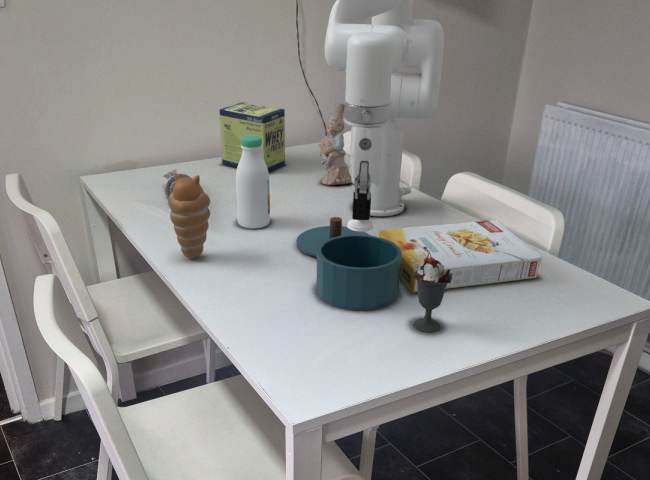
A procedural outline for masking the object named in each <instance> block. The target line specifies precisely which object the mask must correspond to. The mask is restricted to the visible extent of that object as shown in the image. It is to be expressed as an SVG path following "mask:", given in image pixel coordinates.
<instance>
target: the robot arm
mask: <svg viewBox="0 0 650 480" xmlns="http://www.w3.org/2000/svg"><path fill="white" fill-rule="evenodd" d="M413 2H414V1H413V0H335V2H334V4H333V5H332V8H331V11H330V13H329V18H328V24H327V28H326V34H325V39H324V58H325V61H326V64H327V66H328V67H330V69H332V70H334V71H336V72H345V94H344V95H345V96H344V97H345V98H344V105H345V109H344V118H343V122H344V124H346V125H348V126H351V127H350V173H351V174H350V176H351V177H352V182H351V183H352V184H353V185H354V191H353V194H352V195H353V196H352V215H351V216H352V217H351V219H354V220H371V216H373V217H391V216H395V215H398V214H401V213H402V212H403V211H404V209H405V202H404V201H402V197H403V196H405V195H409V194H411V193H412V188H411V186H409V185H405V186H402V187H400V185H401V171H402V162H403V161H402V160H403V151H404V149H403V148H404V133H403V131H402V128H401V126H400V125H399V124H398V122H397V121H396V120H395V118H396V119H399V118H403V119H430V118H431V117H433V116H434V115H435V113H436V112H437V109H438V105H439V98H440V89H441V80H442V70H443V59H444V48H445V33H444V29H443V26H442V24H441V23H440V22H439V21H437V20H434V19H428V18H427V19H426V18H424V19H423V18H413V15H412V13H413ZM367 19H371V24H370V23H369V24H368V23H359V22H361V21H364V20H367ZM402 67H403V68H417V69H419V71H420V72H403V71H400V69H401V68H402ZM358 186H360V187H358ZM367 186H368V188H367Z"/></svg>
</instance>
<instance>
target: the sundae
mask: <svg viewBox="0 0 650 480" xmlns="http://www.w3.org/2000/svg"><path fill="white" fill-rule="evenodd" d="M423 248H424V249H425V250H426V249H427V247H423ZM427 250H428V249H427ZM427 250H426V251H427ZM427 252H429V250H428V251H427ZM429 254H430V252H429V253H428V256H429ZM428 256H427V258H425V259H424V263H423V264H422V265H421V266H420V267H419V269H418V270H417V271H416V272H414V278H415V279H416V280H417V283H418V292H417V299H418V303H419V305H420V306H421V307H422V308H423V309H425V312H424V316H423V317H422V318H417V319H416V320H414V322H413V323H412V324H413V327H414V328H415V330H417V331H419V332H422V333H435V332H437V331H439V330H440V329H441V327H442V325H441V323H440V322H439V321H438V320H436V319H433V318H432V313H433V310H435V309H437V308H438V307H440V306H441V304H442V301H443V298H444V295H445V292H446V289H445V288H446V285H447V283H451V280H452V274H451V273H450V269H449V270H447V271H445V270H444V266H443V264H442V263H441V262H439V261H437V260H435V259H434V258H432V257H431V254H430V257H431V258H428Z"/></svg>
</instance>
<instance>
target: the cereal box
mask: <svg viewBox="0 0 650 480" xmlns="http://www.w3.org/2000/svg"><path fill="white" fill-rule="evenodd" d="M378 237H380V238H384V239H386V240H389V241H391V242H393V243H394V244H396V245H397V246H398V247H399V248H400V249H401V253H402V260H401V271H400V281H401V282H402V283H403V284H404V285H405V287H406V288H407V290H409V292H410V293H411V294H413V293H418V283H417V280H416V279H415V278H414V272H416V271H417V270H418V269H419V267H420V266H421V265H422V264H423V263H424V259H425V258H427V256H428V253H429V252H430V254H431V257H432V258H434V259H435V260H437V261H439V262H441V263H442V264H443V266H444V270H445V271H447V270H449V269H450V273H451V274H452V280H451V283H447V285H446V288H445V290H447V289H456V288H462V287H472V286H480V285H487V284H495V283H504V282H505V283H506V282H512V281H522V280H531V279H537V278H538V274H539V270H540V265H541V262H542V255H541V254H540V253H538V252H537V251H536V250H535V249H533V248H532V247H530V246H529V245H528V244H527V243H525V242H524V241H523V240H521V239H520V238H519V236H516V235H515V234H514V233H513V232H511V231H510V230H509V229H507V227H505V226H503V225H502V224H501V223H499V222H498V221H497V220H496V219H491V220H490V219H489V220H481V221H479V220H478V221H467V222H457V223H446V224H435V225H433V224H432V225H422V226H413V227H412V226H411V227H402V228H391V229H379V230H378ZM423 247H427V249H428V250H429V252H427V251H428V250H427V249H426V250H427V251H426V250H425V249H424V248H423ZM430 254H429V256H428V258H431V257H430Z"/></svg>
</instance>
